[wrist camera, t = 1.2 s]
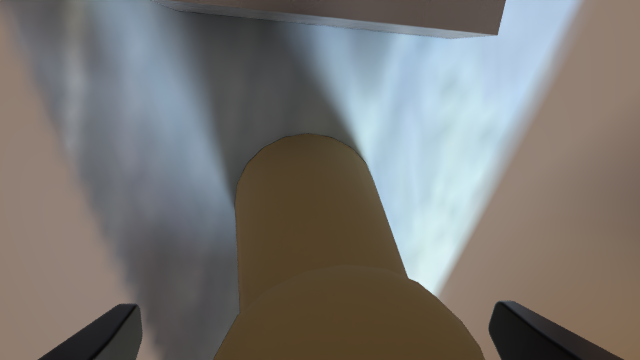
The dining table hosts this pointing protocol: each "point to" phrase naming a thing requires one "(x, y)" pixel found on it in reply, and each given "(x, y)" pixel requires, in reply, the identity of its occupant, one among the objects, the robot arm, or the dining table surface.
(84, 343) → the robot arm
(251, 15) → the socket frame
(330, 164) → the cork
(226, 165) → the dining table surface
